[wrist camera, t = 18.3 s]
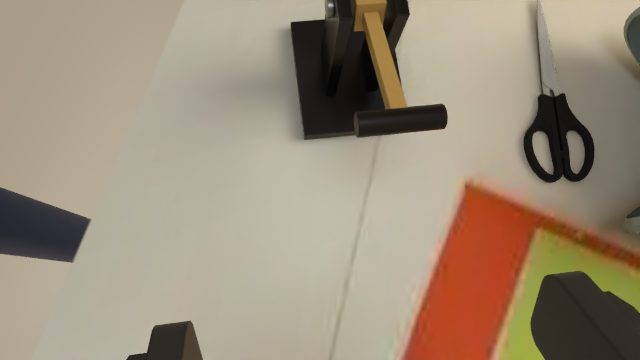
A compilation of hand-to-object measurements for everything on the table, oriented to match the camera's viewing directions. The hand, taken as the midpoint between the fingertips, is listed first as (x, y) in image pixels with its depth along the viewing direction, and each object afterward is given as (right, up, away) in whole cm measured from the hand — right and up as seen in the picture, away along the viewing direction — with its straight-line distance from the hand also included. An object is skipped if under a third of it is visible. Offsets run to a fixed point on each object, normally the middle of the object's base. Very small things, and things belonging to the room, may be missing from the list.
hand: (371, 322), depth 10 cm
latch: (+3, +11, +22) cm, 25 cm away
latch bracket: (+2, +13, +35) cm, 37 cm away
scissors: (+22, +13, +36) cm, 44 cm away
